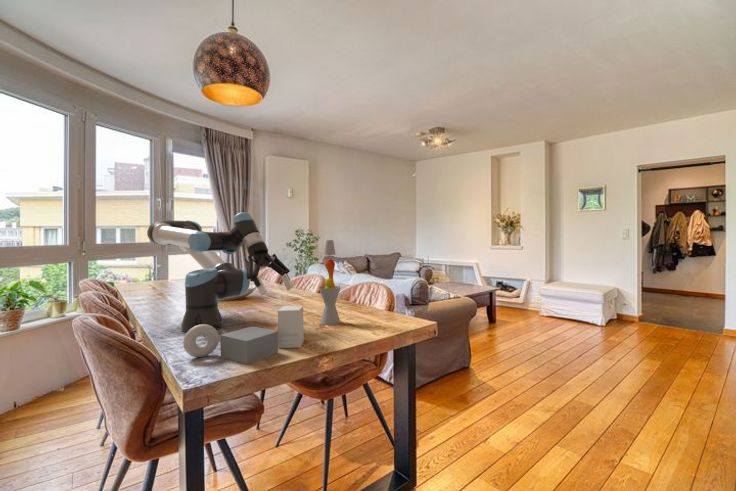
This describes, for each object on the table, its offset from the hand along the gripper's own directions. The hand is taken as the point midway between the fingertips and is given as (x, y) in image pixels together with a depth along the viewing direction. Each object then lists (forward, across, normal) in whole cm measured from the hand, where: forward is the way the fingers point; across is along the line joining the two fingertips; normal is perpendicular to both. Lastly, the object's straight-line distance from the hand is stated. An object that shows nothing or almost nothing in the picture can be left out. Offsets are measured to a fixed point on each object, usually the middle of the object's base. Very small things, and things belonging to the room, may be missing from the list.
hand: (277, 291), depth 137 cm
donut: (+14, -33, +8) cm, 37 cm away
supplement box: (+23, -10, -5) cm, 25 cm away
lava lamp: (+18, +21, +1) cm, 27 cm away
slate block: (+20, -24, -1) cm, 32 cm away
